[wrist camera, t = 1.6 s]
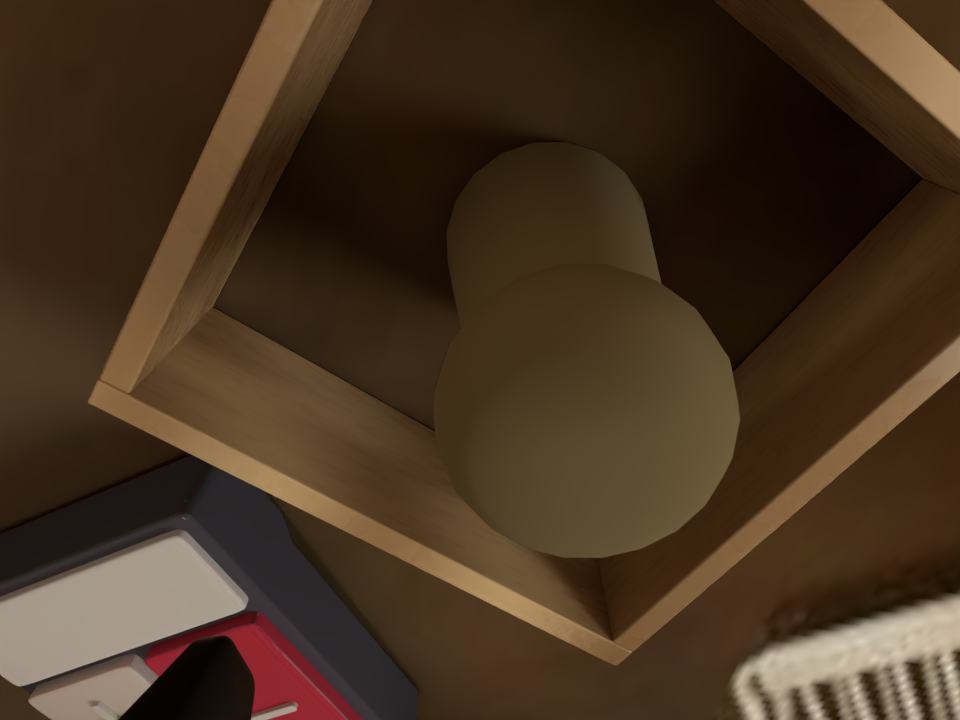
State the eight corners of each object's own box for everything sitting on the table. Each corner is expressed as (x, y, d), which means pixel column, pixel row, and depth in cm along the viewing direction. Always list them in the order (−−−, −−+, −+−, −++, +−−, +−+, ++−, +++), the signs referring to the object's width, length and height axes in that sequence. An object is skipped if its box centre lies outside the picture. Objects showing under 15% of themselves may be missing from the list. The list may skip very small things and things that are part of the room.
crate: (964, 170, 19) (1129, 227, 14) (593, 540, 25) (616, 667, 20) (467, -263, 15) (451, -399, 10) (180, 312, 21) (85, 403, 16)
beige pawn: (551, 92, 18) (616, 193, 8) (691, 245, 20) (878, 475, 10) (403, 247, 20) (316, 473, 10) (542, 371, 22) (579, 662, 12)
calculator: (190, 840, 29) (-97, 634, 22) (223, 740, 33) (-13, 537, 26) (416, 781, 26) (174, 529, 20) (424, 681, 30) (223, 439, 23)
